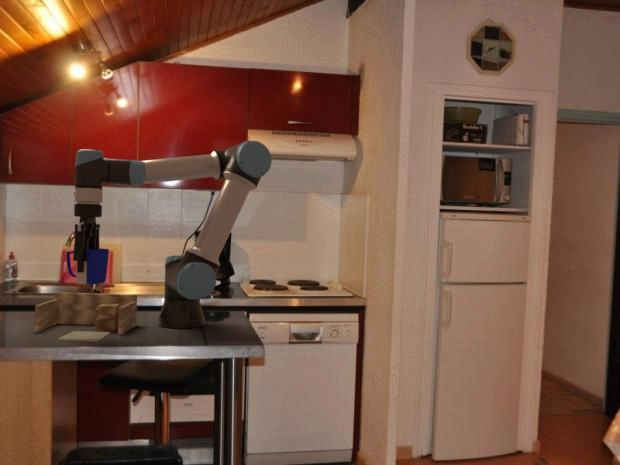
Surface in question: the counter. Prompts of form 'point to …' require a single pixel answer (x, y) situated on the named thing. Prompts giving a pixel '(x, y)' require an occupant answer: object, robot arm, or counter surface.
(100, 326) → the offcut walnut
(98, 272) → the mug
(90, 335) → the sage tile
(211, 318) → the counter surface
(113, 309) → the offcut oak
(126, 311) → the rack
